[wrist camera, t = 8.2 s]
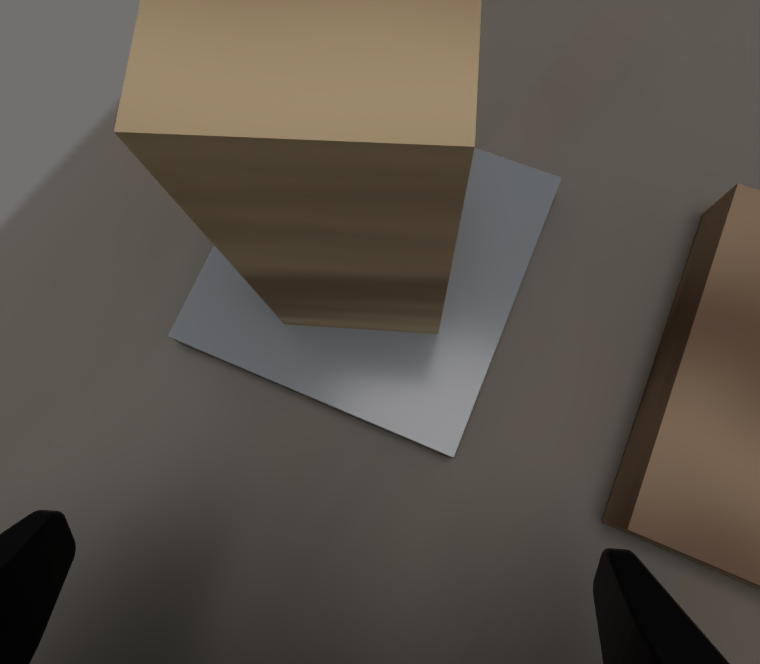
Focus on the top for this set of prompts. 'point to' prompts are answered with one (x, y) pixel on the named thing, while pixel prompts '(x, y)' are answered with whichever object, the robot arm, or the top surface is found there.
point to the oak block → (314, 145)
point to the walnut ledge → (703, 407)
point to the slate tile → (391, 348)
